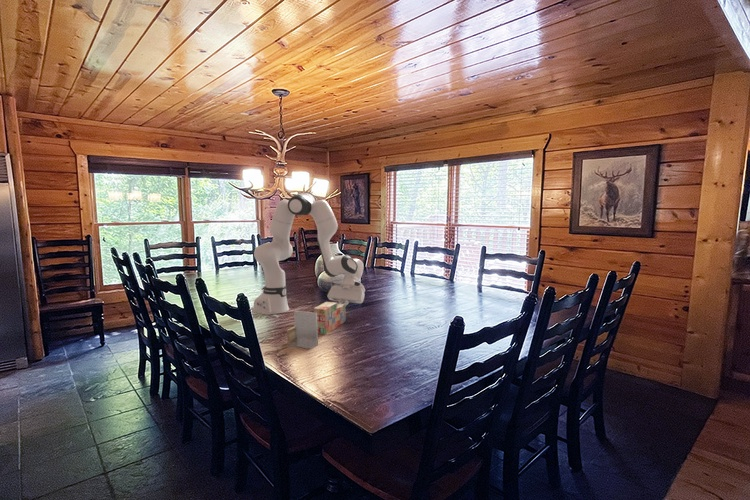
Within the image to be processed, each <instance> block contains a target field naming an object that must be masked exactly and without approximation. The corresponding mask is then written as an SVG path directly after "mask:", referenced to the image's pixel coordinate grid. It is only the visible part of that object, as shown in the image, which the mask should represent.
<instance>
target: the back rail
mask: <svg viewBox="0 0 750 500" xmlns="http://www.w3.org/2000/svg"><path fill="white" fill-rule="evenodd" d="M286 334H287V335H286V336H287V341H286V342H287V344H291V343H292V342H294V341H295V325H294V326H292V327H290V328H288V329H287V330H286Z"/></svg>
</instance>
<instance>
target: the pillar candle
mask: <svg viewBox="0 0 750 500" xmlns="http://www.w3.org/2000/svg"><path fill="white" fill-rule="evenodd" d="M342 282H343V279H341V278H340V279H335V280H332V286H333V285H341V284H342ZM332 302H335V303H338V304H339V301H333V300H332ZM344 303H345V302H342V303H341V304H344Z"/></svg>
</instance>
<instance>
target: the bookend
mask: <svg viewBox="0 0 750 500" xmlns="http://www.w3.org/2000/svg"><path fill="white" fill-rule="evenodd" d="M293 317H294V326H295V341H294V342H292V343H291V344H290V343H288V346H289V347H293V348H294V347H295V348H299V349H307V350H312V349H313V348H315V347H316V346H318V345H319V336H318V334H319V333H318V325H317V313H314V311H313V312H312V311H303V310H302V311H301V310H297V309H296V310H295V309H294V311H293Z"/></svg>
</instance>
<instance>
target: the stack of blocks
mask: <svg viewBox="0 0 750 500" xmlns="http://www.w3.org/2000/svg"><path fill="white" fill-rule="evenodd" d="M313 313H317V325H318V334H319V335H327V334H328V333H330V332H332V331H333V330H335V329H336V328H338V327H339V326H341V325H342V324H344V323H345V322H347V311H346V306H345V304H338V303H335V302H333V301H325V302H323V303H321V304H320V305H318V306H314V307H313Z"/></svg>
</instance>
